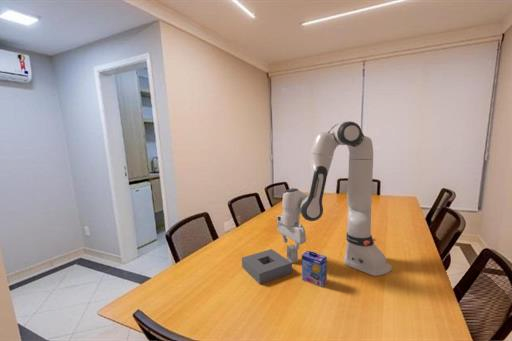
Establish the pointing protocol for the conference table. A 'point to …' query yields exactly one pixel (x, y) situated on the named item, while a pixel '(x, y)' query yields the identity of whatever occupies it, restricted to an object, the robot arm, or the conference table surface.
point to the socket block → (266, 266)
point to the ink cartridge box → (314, 268)
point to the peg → (292, 254)
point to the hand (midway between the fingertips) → (290, 245)
